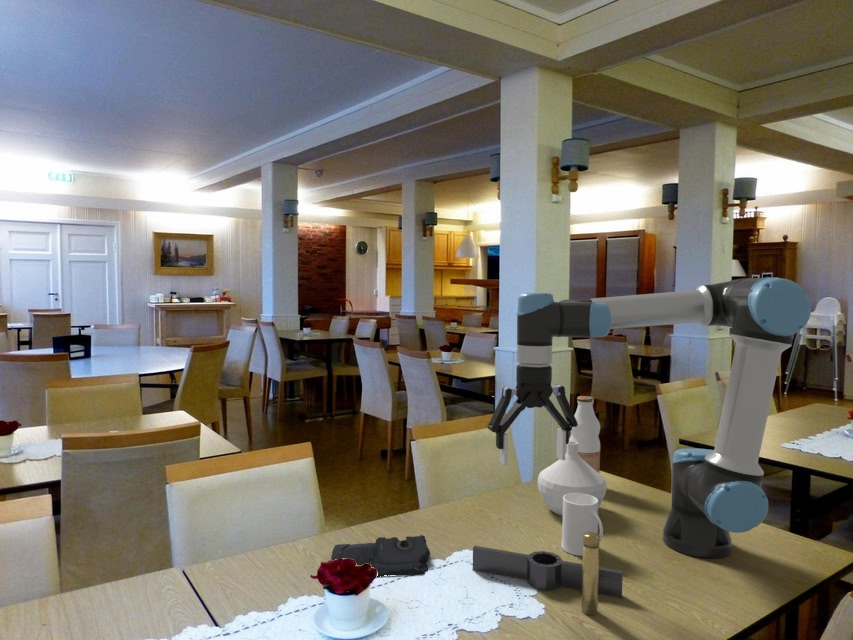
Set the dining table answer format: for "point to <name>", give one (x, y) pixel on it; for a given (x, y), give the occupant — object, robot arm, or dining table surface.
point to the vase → (569, 480)
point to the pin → (590, 573)
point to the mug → (579, 521)
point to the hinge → (543, 570)
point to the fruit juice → (587, 432)
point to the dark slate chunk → (389, 555)
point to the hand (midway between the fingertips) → (532, 461)
